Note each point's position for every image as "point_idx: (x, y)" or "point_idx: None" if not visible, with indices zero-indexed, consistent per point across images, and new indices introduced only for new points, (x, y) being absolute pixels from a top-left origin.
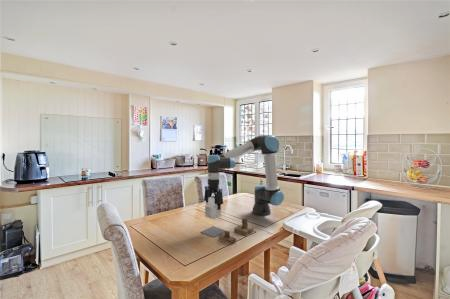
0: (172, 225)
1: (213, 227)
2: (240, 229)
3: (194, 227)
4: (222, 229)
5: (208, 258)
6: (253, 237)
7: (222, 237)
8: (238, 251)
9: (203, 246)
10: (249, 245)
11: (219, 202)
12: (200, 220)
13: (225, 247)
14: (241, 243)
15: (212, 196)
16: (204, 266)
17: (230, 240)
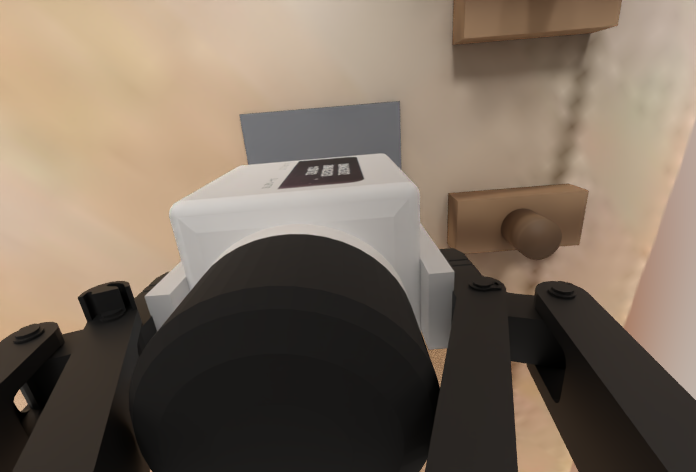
0: (22, 321)
1: (269, 135)
2: (538, 25)
3: (154, 233)
4: (358, 107)
5: (532, 398)
6: (656, 16)
7: (490, 250)
8: (635, 263)
9: (431, 352)
10: (671, 157)
11: (544, 387)
12: (24, 90)
13: (543, 281)
14: (609, 174)
15: (216, 447)
16: (555, 438)
17: (565, 244)
